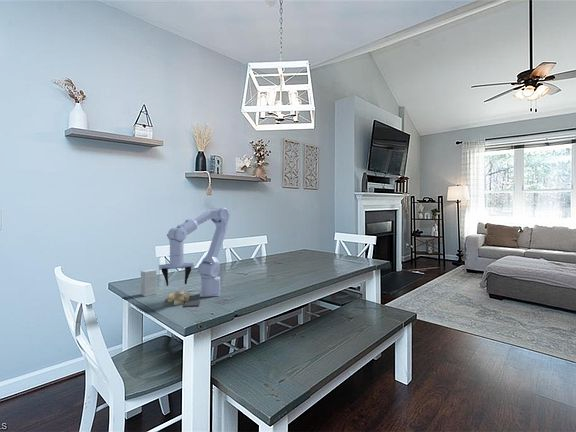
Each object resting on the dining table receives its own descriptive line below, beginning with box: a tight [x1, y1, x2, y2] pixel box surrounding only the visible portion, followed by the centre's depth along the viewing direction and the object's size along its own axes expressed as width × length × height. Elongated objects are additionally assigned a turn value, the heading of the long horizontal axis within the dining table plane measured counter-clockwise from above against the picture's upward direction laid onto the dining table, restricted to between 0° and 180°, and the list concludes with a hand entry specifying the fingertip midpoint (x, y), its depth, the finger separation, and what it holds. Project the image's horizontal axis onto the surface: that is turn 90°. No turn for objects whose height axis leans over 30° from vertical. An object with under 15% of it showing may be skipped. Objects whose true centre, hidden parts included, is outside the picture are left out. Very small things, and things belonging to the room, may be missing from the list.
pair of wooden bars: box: [167, 292, 191, 303], centre depth 138 cm, size 9×6×2 cm
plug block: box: [173, 290, 185, 306], centre depth 133 cm, size 4×4×5 cm
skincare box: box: [140, 268, 158, 297], centre depth 145 cm, size 6×4×12 cm
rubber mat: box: [183, 299, 201, 308], centre depth 132 cm, size 6×6×1 cm
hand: (176, 284), depth 132 cm, fingers open, 7 cm apart
